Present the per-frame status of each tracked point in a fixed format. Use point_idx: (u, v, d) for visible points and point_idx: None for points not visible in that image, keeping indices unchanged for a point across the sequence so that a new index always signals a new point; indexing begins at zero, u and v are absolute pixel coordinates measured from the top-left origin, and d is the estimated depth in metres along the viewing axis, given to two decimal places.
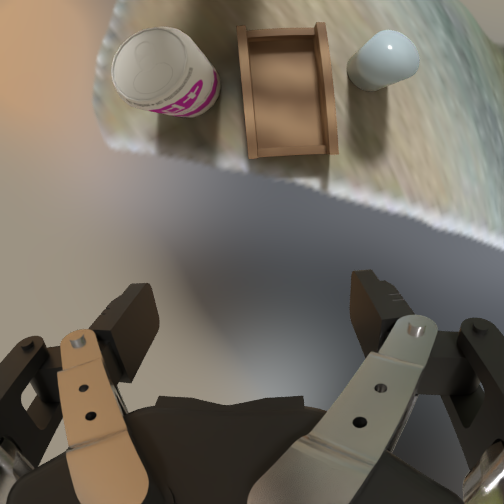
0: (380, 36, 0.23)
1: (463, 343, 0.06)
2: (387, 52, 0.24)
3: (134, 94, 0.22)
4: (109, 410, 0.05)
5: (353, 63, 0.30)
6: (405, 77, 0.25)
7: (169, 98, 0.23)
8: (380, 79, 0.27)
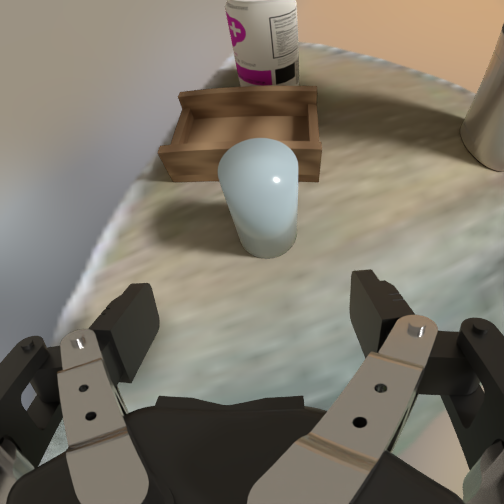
0: (285, 151, 0.21)
1: (463, 343, 0.06)
2: (259, 157, 0.21)
3: None
4: (109, 410, 0.05)
5: None
6: (219, 175, 0.21)
7: (227, 4, 0.26)
8: None
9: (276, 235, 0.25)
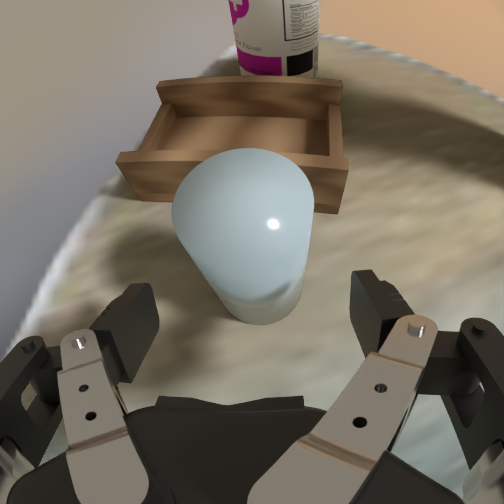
0: (292, 175, 0.12)
1: (463, 343, 0.06)
2: (246, 182, 0.12)
3: None
4: (109, 410, 0.05)
5: None
6: (174, 213, 0.12)
7: None
8: None
9: (270, 305, 0.16)
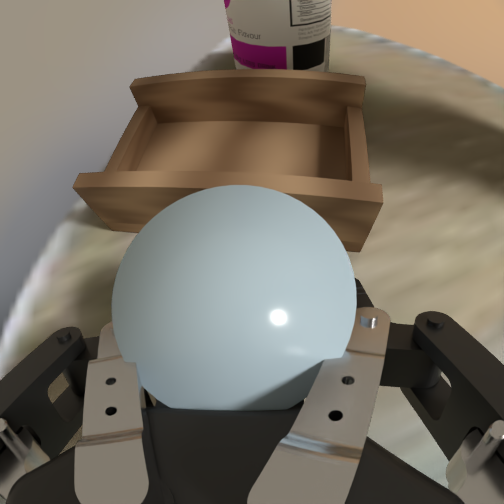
0: (317, 240, 0.07)
1: (420, 338, 0.07)
2: (235, 254, 0.07)
3: None
4: (130, 408, 0.05)
5: None
6: (116, 308, 0.07)
7: None
8: None
9: None
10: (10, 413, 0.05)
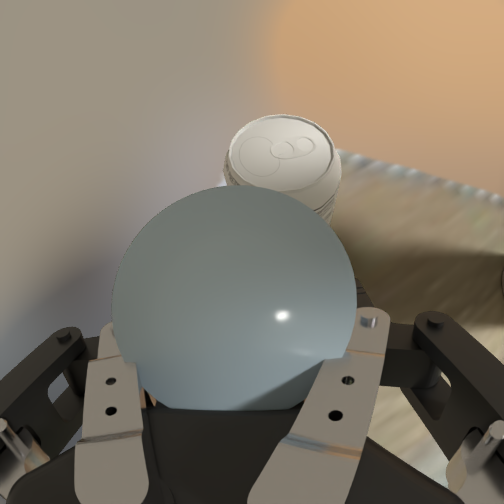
0: (317, 240, 0.07)
1: (420, 338, 0.07)
2: (235, 254, 0.07)
3: (242, 138, 0.20)
4: (130, 408, 0.05)
5: None
6: (115, 308, 0.07)
7: (230, 177, 0.20)
8: None
9: None
10: (10, 413, 0.05)
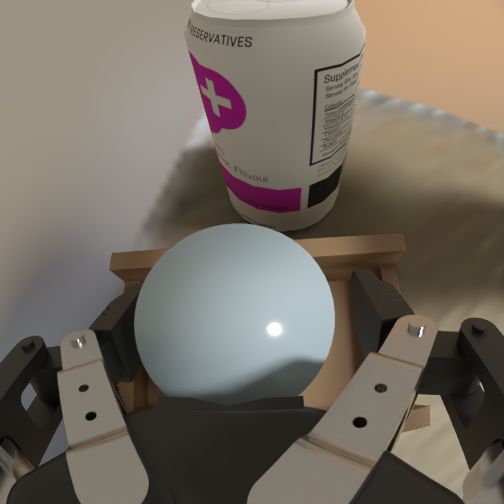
0: (304, 273, 0.08)
1: (463, 343, 0.06)
2: (237, 284, 0.09)
3: None
4: (109, 409, 0.05)
5: None
6: (138, 327, 0.08)
7: (191, 31, 0.10)
8: None
9: None
10: None
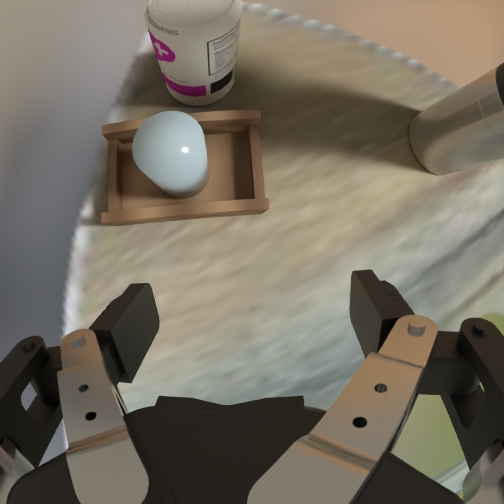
0: (194, 128, 0.22)
1: (463, 343, 0.06)
2: (170, 133, 0.22)
3: None
4: (109, 410, 0.05)
5: None
6: (133, 151, 0.22)
7: (148, 19, 0.18)
8: None
9: (186, 190, 0.27)
10: None
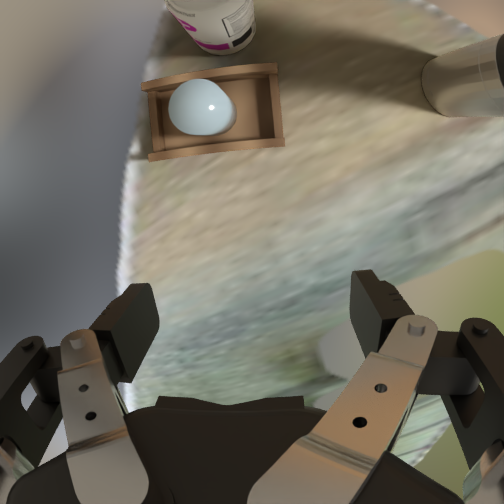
0: (217, 92, 0.26)
1: (463, 343, 0.06)
2: (198, 97, 0.26)
3: None
4: (109, 410, 0.05)
5: None
6: (170, 113, 0.27)
7: (167, 3, 0.20)
8: None
9: (216, 133, 0.33)
10: None
